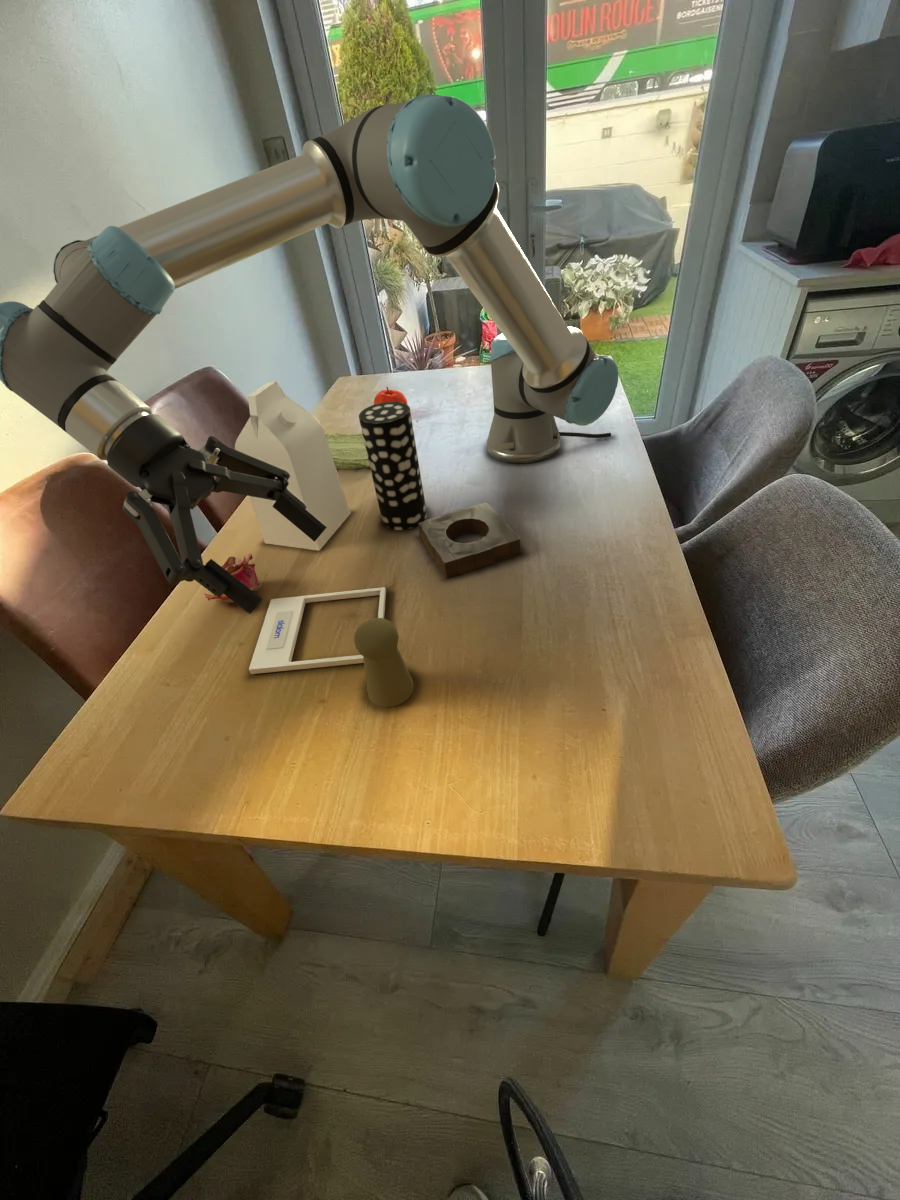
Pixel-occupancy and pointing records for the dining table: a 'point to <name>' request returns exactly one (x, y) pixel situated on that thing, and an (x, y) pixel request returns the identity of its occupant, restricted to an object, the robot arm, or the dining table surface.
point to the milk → (293, 466)
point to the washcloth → (348, 450)
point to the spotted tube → (394, 464)
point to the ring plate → (469, 555)
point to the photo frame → (284, 629)
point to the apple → (389, 397)
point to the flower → (239, 575)
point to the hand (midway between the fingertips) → (291, 568)
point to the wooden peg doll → (383, 663)
